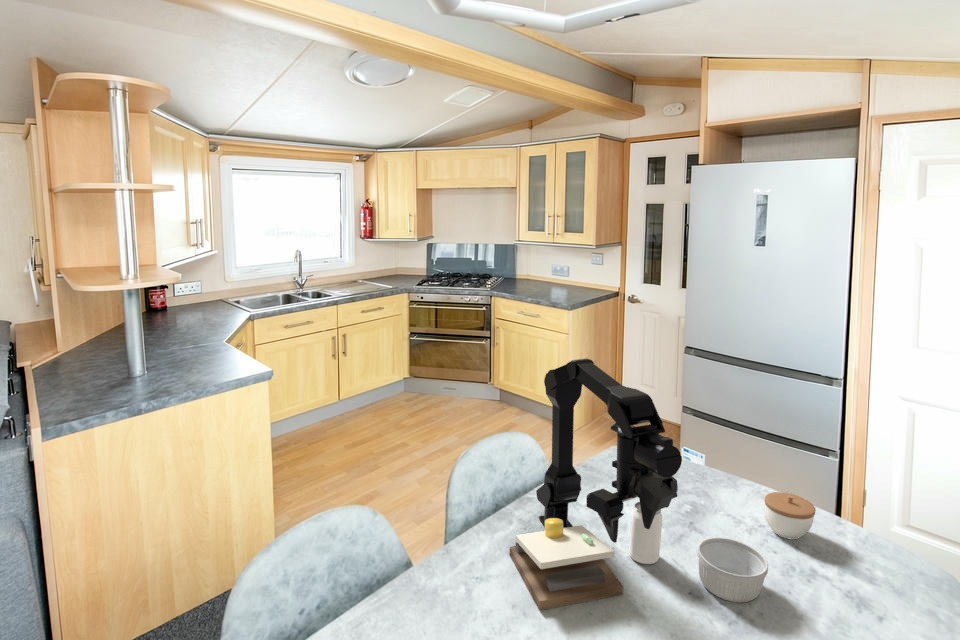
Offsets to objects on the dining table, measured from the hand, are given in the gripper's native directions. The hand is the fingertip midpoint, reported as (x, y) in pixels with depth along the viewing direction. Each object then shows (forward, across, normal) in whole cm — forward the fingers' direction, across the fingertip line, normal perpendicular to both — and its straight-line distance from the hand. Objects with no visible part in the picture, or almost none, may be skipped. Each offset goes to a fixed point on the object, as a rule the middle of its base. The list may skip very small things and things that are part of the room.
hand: (630, 534), depth 109 cm
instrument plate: (+7, -6, +13) cm, 16 cm away
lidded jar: (+14, +51, -3) cm, 53 cm away
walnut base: (+13, -6, +13) cm, 19 cm away
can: (+13, +13, +8) cm, 20 cm away
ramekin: (+14, +21, -8) cm, 27 cm away
